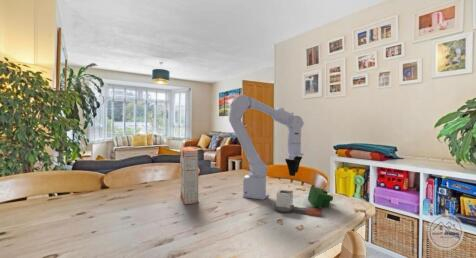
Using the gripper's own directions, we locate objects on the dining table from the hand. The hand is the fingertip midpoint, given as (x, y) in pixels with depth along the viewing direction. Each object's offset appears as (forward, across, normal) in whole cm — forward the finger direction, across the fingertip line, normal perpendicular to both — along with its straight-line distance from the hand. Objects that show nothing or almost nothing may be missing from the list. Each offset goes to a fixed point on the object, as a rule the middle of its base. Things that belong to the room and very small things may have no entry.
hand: (293, 174), depth 111 cm
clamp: (+10, -8, -12) cm, 17 cm away
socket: (+8, -20, 0) cm, 21 cm away
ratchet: (+9, -20, -5) cm, 23 cm away
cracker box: (+10, -23, +39) cm, 46 cm away
